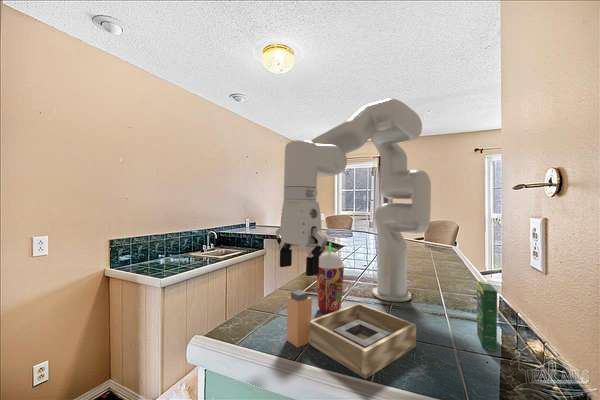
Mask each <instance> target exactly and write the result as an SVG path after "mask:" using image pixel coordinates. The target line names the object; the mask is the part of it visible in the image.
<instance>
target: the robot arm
mask: <svg viewBox="0 0 600 400" xmlns="http://www.w3.org/2000/svg"><path fill="white" fill-rule="evenodd" d="M422 130H423V123H422V120H421V117H420V116H419V114H418V113H417V112H416V111H415V110H413V109H412V108H411V107H409V105H407V104H406V103H405V102H403V101H401V100H399V99H396V98H386V99H383V100H379V101H376V102H371V103H368V104H366V105H363V106H362V107H360V108H359V109H357V110H356V111H355V112H354V113H352V115H350V116H349V117H348V118H347V119H346V120H344V121H343V122H342V123H340V124H338V125H336V126H334V127H332V128H331V129H329V130H327V131H325V132H324V133H321V134H320V135H318V136H316V137H315V138H312V139H311V140H306V139H305V140H303V139H300V140H298V139H295V140H291V141H288V142H287V143H286V144H285V146H284V147H285V148H284V167H283V169H284V170H283V173H284V175H283V176H284V177H283V203H282V209H281V217H280V227H279V228H278V229H276V230H275V235H276V241H277V243H278V250H279V267H280V268H287V267H291V266H292V263H293V256H292V255H293V254H292V253H293V249H292V247H293V246H295V247H300V248H304V249H305V251H306V253H307V255H308V256H306V257H305V258H306V259H305V260H306V261H305V262H306V265H305V275H306V276H307V277H313V276H316V275H318V274H319V257H320V256H321V255H322V254H323V252H324V251H325V249H326V245H327V243H328V241H329V239H328V237H327V236H326V235H324V233H322V218H321V217H322V216H321V209H320V204H319V202H318V201H317V196H318V191H317V185H318V183H317V182H318V178H319V177H322V178H325V177H334V176H335V177H336V176H337V175H340V174H341V173H343V171H345V169H346V168H347V163H348V159H347V158H348V157H347V154H349V153H353V152H354V151H356V150H359V149H361V148H362V147H363V146H364V145H365V144H366V143H367V142H368V141H369V140H370V141H371V142H372V144H373V145H374V146H375V148H376V150H377V151H378V153H379V156H380V164H381V165H380V194H381V195H382V197H384V198H386V199H391V200H411V203H409V202H408V203H404V202H386V203H383V204H380V205H379V206H378V207H377V208H376V209H375V212H374V220H375V227H376V234H377V259H376V260H377V261H376V263H377V266H376V267H377V269H376V270H377V272H376V273H377V274H376V275H377V278H376V282H377V283H376V284H377V285H376V287H374V288H373V289H372V295H373V296H374V297H376V298H377V299H379V300H383V301H388V302H396V303H397V302H398V303H401V302H407V301H410V300H411V299H412V293H411V292H410V291H408V290H407V289H408V287H411V286H412V280H407V278H408V277H407V275H408V273H407V271H408V270H407V266H408V264H407V263H408V244H407V242H406V239H405V237H404V236H403V234H402V233H410V234H411V233H412V234H423V233H425V232H427V231H428V229H429V227H430V224H431V210H432V209H431V208H432V207H431V205H432V203H431V201H432V197H431V196H432V182H431V178H430V175H429V174H428V173H427V172H426V171H425V170H422V169H408V156H407V153H406V152H405V150H404V149H403V148H402V147H401V145H400V144H399V143H403V142H411V141H414V140H416V139H418V138H419V137H420V136H421V134H422Z"/></svg>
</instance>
